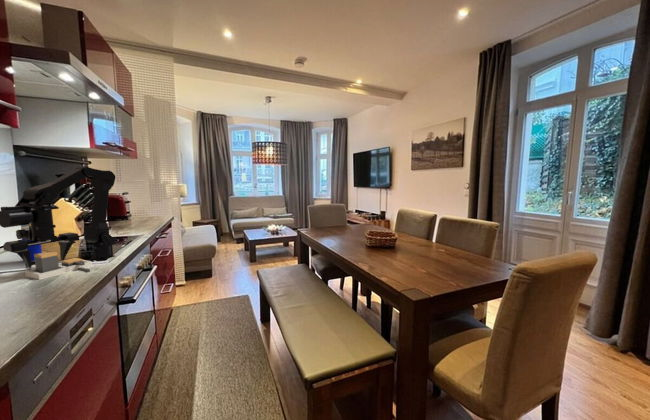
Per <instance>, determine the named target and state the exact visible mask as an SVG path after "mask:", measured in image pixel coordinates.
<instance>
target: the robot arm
mask: <svg viewBox="0 0 650 420" xmlns="http://www.w3.org/2000/svg"><path fill="white" fill-rule="evenodd" d="M83 179H87V180H90V184H91V186H92V188H93V191H94V193H93V201H92V210H91V219H90V223H89V224H88V225H84V226H83V234H82V236H83V238H84V240H85V241H86V242H87V243H88V245H89V246H91V247H92V249H91V252H90V253H91V258H90V259H92V260H96V261H103V260H107V259H109V258H110V259H111V258H115V257H116V255H114V250H113V246H114V245H115V244H116V241H117V239H116V238H115V237H113V236H112V235H110V228H109V226H108V225H107V214H108V205H109V204H108V203H109V192H110V191H111V190H112V188H113V187H114V184H115V181H116V175H115V174H114V172H113V171H111V170H102V169H96V168H92V167H89V166H76V167H74V169H73V170H70V171H68V172H66V173H64V174H63V175H61V176H59V177H58V178H57V177H56V178H55V179H53V180H52V181H49V182H46V183H44V184H40V185H35V186H32V187H29V188H27V189H25V190H24V191H23V192H22V193H23V194H22V197H21V198H20V199H19V200H18V202H17V203H16V204H15V206H1V207H0V227H1V228H4V229H5V228H6V229H7V228H12V227H13V228H14V227H19V226H21V227H22V226H29V230H28V231H25V229H22V230H21V229H17V230H16V231H15V234H16V235H15V237H16V239H17V240H11V241H6V242H5V243H4V244H3V245H2V246H3V247H2V248H3V251H5V252H9V253H12V254H13V253H14V254H17V255H18V256H19V257H20V258H21V259H22V261H23V262H24V263H25V265H26V267H27V266H28V267H27V269H28V268H31V266H32V265H33V262H31V254H30V250H27V248H28V246H34V245H40V244H41V245H45V244H51V243H56V242H57V243H58V245H59V253H60V254H59V255H60V257H59V258H60V261H63V260H66V256H67V255H68V253H69V251H70V249H71V248H72V246H73V245H74V244H76V242H77V241H80V235H79V234H78V233H76V232H63V233H59V234H58V235H55V228H56V224H54V218H53V210H58V209H59V208H60V207H59V206H57V205H55V204H54V203H53V202H55V200H56V199H57V198H58V197H59V196H60V194H61V193H62V192H63V191H65V190H67V189H68V188H70V187H73V185H75V184H77V183H79V182H81V181H82V180H83ZM29 224H30V225H29ZM22 239H25V241H22ZM30 240H33V241H30ZM26 241H27V242H26Z"/></svg>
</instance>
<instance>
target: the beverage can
mask: <svg viewBox="0 0 650 420" xmlns="http://www.w3.org/2000/svg"><path fill="white" fill-rule="evenodd" d="M29 226H30V225H26V226H21V228H20V230H22V229H25V231H28V230H29ZM21 240H22V241H25V239H21ZM30 241H33V240H30ZM26 242H27V241H26ZM27 250H30V254H31V263H33V262H34V263H35V258H34V254H39V253H43V251H42V244H40V245H34V246H28V248H27Z"/></svg>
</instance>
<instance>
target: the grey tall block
mask: <svg viewBox="0 0 650 420" xmlns="http://www.w3.org/2000/svg"><path fill="white" fill-rule="evenodd" d="M58 257H59V255H58V252H56V251H45V252H42V253H39V254H34V258H35V261H34V265H35V266H36V272H38V273H44V272H48V271H53V270H57V269H59V264H58V260H59V259H58Z"/></svg>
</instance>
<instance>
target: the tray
mask: <svg viewBox="0 0 650 420" xmlns="http://www.w3.org/2000/svg"><path fill="white" fill-rule="evenodd" d="M61 261H62V260H61V259H60V260H59V259H58V263H62V262H61ZM26 267H27V269H28V270H32V269H36V266H35V264H32V266H31V268H28V266H27V265H26Z"/></svg>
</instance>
